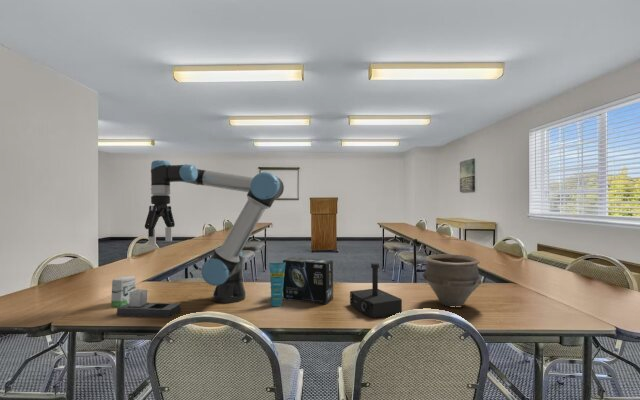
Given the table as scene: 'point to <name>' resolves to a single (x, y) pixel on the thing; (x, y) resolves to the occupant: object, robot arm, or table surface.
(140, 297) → the grey rectangular block
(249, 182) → the robot arm
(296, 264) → the box
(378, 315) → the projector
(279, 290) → the tube
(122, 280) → the ink box
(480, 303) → the table surface
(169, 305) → the dark grey slotted tray
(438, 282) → the planter
